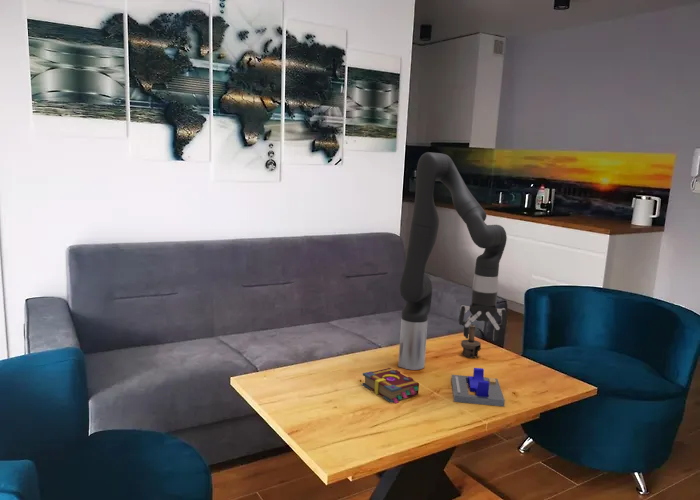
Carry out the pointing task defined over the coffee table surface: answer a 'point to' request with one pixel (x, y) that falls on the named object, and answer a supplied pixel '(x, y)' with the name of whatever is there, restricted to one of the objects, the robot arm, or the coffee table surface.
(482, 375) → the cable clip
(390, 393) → the decorative book
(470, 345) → the industrial component
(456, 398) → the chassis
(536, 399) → the coffee table surface
